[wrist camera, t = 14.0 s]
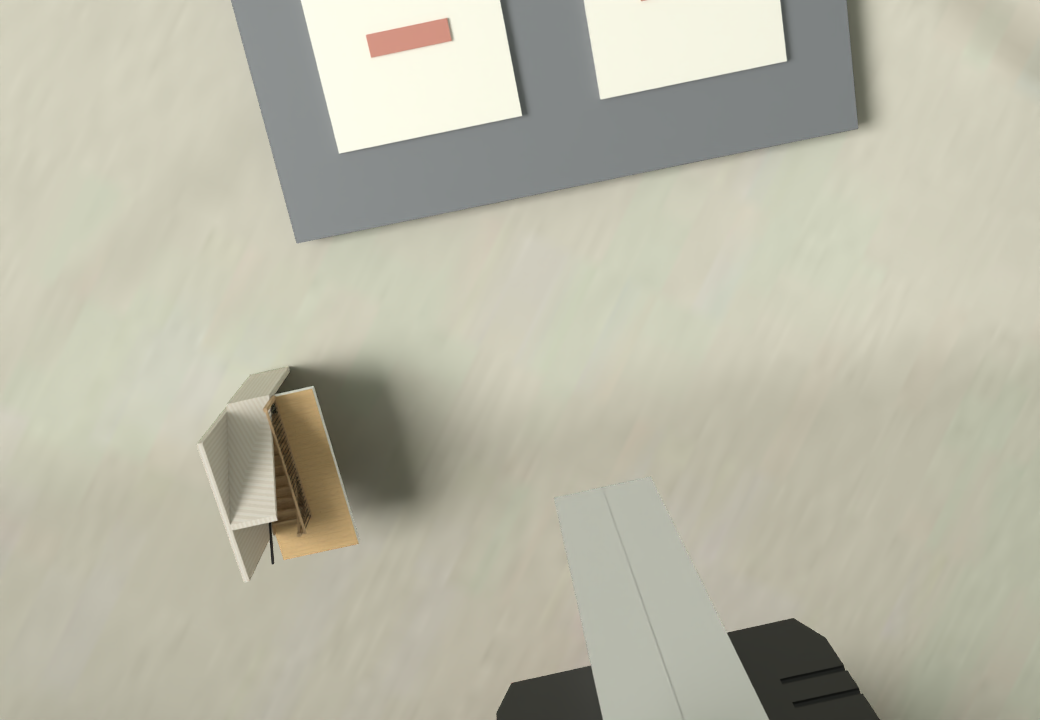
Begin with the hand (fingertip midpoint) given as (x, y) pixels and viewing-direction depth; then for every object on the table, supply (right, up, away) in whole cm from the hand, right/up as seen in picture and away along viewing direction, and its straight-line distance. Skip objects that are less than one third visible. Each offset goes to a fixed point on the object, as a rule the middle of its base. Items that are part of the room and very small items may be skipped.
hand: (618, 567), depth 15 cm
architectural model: (-11, 0, +26) cm, 29 cm away
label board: (-1, +18, +21) cm, 27 cm away
